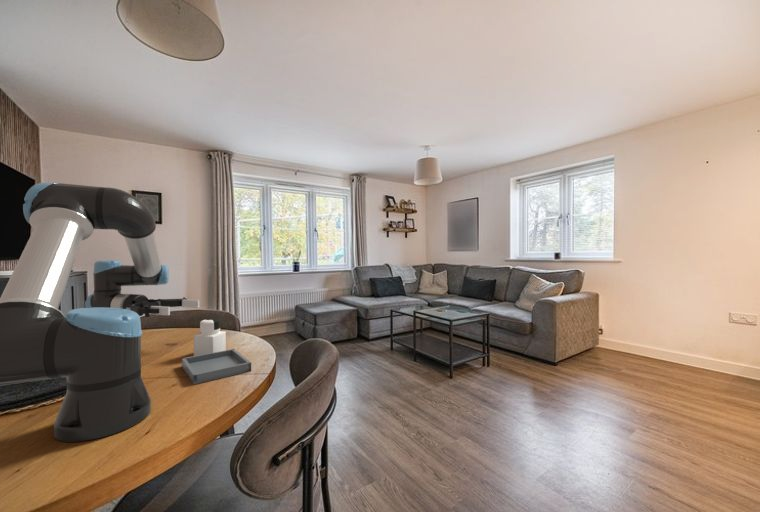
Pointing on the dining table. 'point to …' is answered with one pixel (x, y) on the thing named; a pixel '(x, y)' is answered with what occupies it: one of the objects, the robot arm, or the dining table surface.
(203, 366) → the tray
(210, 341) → the medicine bottle
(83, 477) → the dining table surface
